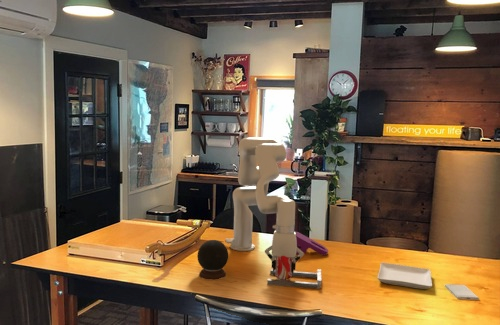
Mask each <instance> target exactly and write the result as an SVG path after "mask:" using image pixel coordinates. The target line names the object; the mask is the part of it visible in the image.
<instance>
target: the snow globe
mask: <svg viewBox="0 0 500 325" xmlns="http://www.w3.org/2000/svg"><path fill="white" fill-rule="evenodd" d="M196 255H197V261H198V264H199V265H200V266H201V267H202V269H201V270H200V271H199V274H198V275H199V277H200V278H202V279H204V280H208V281H209V280H211V281H215V280H217V281H218V280H221V279H223V278H225V277H226V276H227V272H226V271H225V270H224V269H223V268H225V266H227V263H228V260H229V251H228V248H227V246H226V245H225V244H224V243H223V242H222V241H220V240H217V239H209V240H207V241H205V242H203V243H202V244H201V245H200V247H199V249H198V250H197V254H196Z"/></svg>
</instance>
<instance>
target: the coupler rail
mask: <svg viewBox="0 0 500 325" xmlns="http://www.w3.org/2000/svg"><path fill="white" fill-rule="evenodd" d="M269 271H270V272H269V274H270V275H272V276H273V275H274V276H275V271H273V268H271V269H270V270H269ZM292 277H297V278H309V279H316V282H309V281H308V282H307V281H297V280H279V279H274V278H273V279H272V278H267V280H266V281H267V285H268V286H269V285H270V286H279V287H280V286H281V287H282V286H283V287H290V288H291V287H293V288H303V289H304V288H305V289H315V290H322V269H319V268H317V269H316V272H310V271H309V272H308V271H307V272H306V271H296V270H294V272H292Z"/></svg>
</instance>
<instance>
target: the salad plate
mask: <svg viewBox="0 0 500 325" xmlns="http://www.w3.org/2000/svg"><path fill="white" fill-rule="evenodd" d="M377 279H378V281H379V282H381V283H383V284H388V285H394V286H400V287H404V288H405V287H406V288H407V287H408V288H412V289H421V290H426V289H427V290H428V289H431V288H432V287H433V281H432V272H431V269H428V268H422V267H419V266H417V267H416V266H410V265H405V264H404V265H403V264H396V263H389V262H380V266H379V271H378V273H377Z"/></svg>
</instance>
